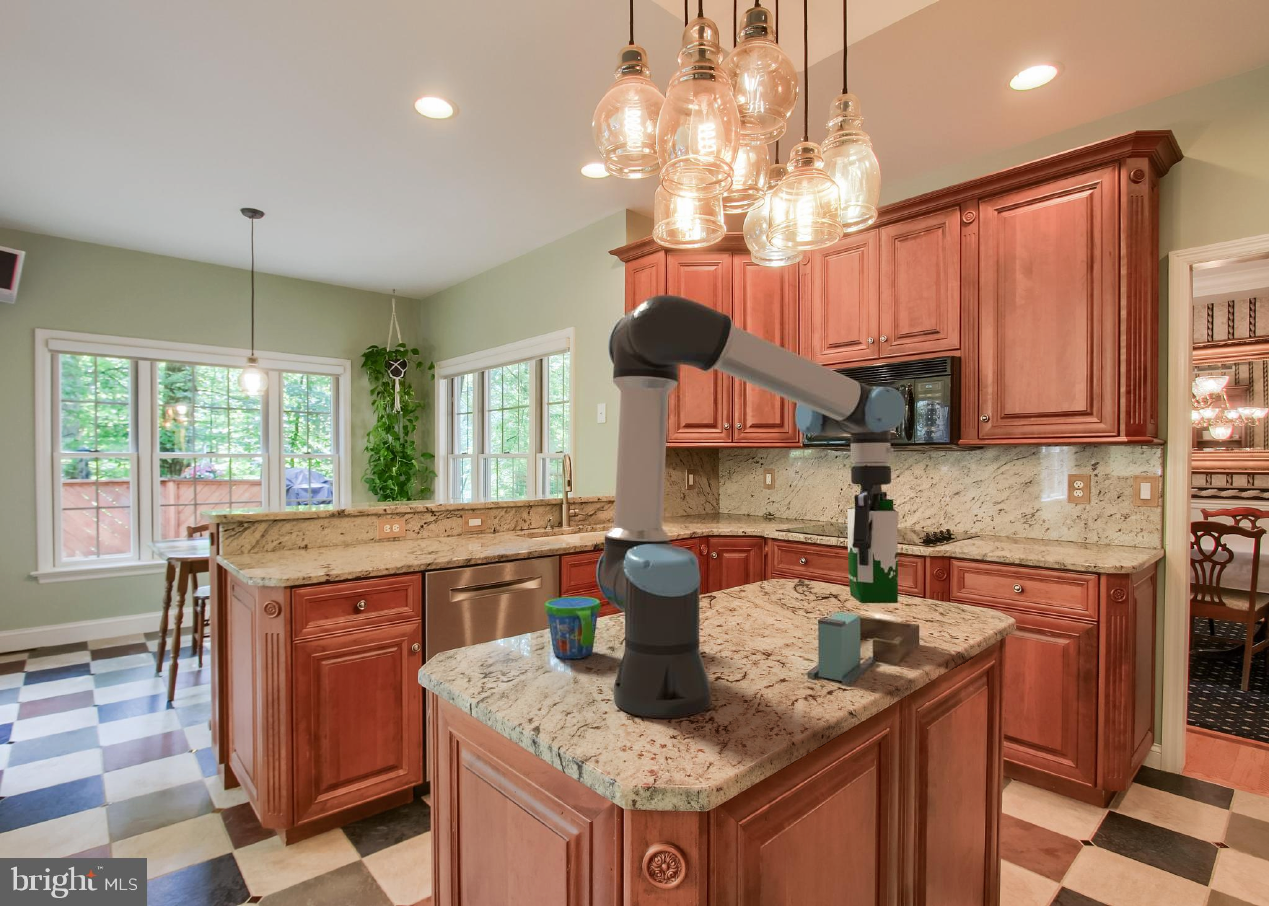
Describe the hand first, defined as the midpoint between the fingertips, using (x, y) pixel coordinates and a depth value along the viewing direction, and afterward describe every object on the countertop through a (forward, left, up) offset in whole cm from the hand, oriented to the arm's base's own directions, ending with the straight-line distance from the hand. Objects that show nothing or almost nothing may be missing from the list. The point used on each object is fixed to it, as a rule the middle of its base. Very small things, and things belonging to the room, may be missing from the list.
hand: (872, 578), depth 127 cm
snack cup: (-45, -39, -14) cm, 61 cm away
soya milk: (0, 0, -4) cm, 4 cm away
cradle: (0, -1, -14) cm, 14 cm away
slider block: (0, -19, -14) cm, 23 cm away
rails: (0, -18, -14) cm, 22 cm away
